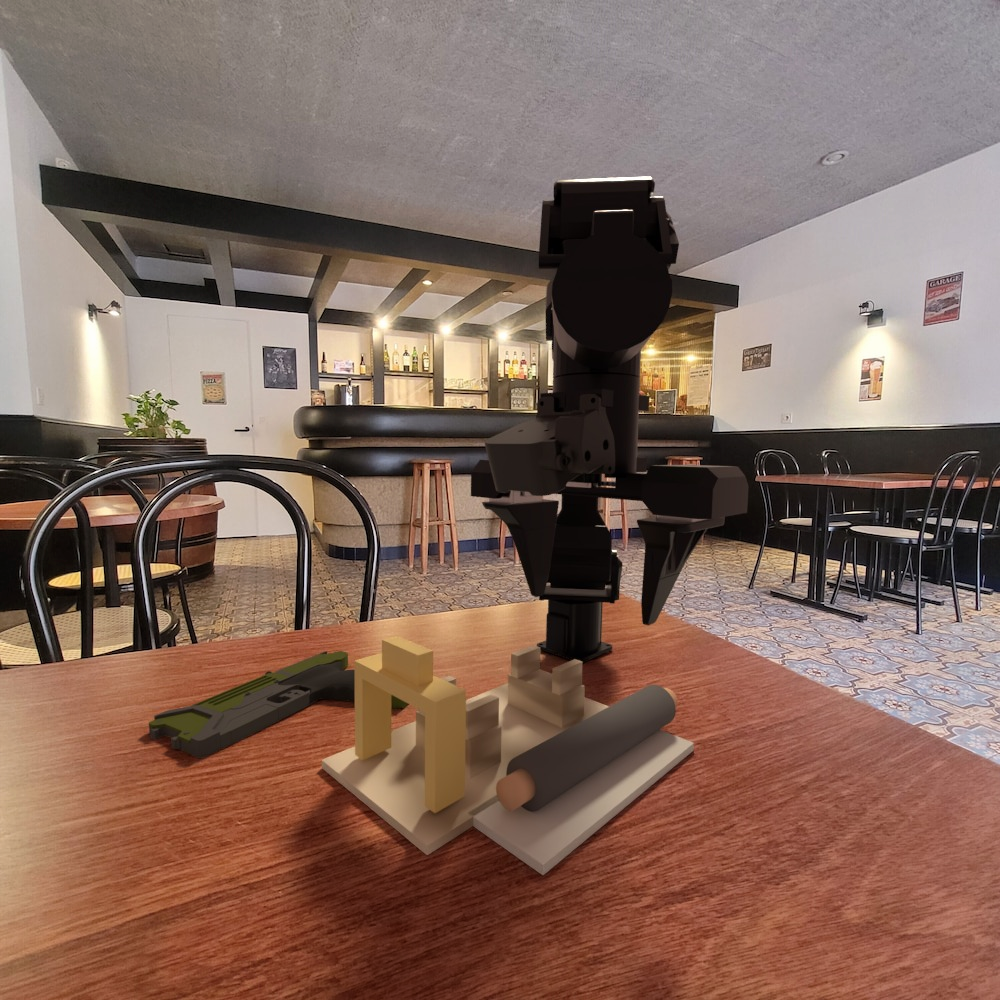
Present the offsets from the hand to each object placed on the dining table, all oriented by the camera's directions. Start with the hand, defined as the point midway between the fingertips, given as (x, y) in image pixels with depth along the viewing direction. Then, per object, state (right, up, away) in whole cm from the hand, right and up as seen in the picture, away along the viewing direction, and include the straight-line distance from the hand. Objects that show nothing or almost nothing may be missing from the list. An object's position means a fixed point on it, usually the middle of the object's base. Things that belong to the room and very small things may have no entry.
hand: (588, 608), depth 38 cm
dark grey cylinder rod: (+1, -10, +1) cm, 10 cm away
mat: (0, -12, 0) cm, 12 cm away
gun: (-23, -11, +10) cm, 28 cm away
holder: (-7, -11, +5) cm, 14 cm away
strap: (-12, -12, -1) cm, 17 cm away
